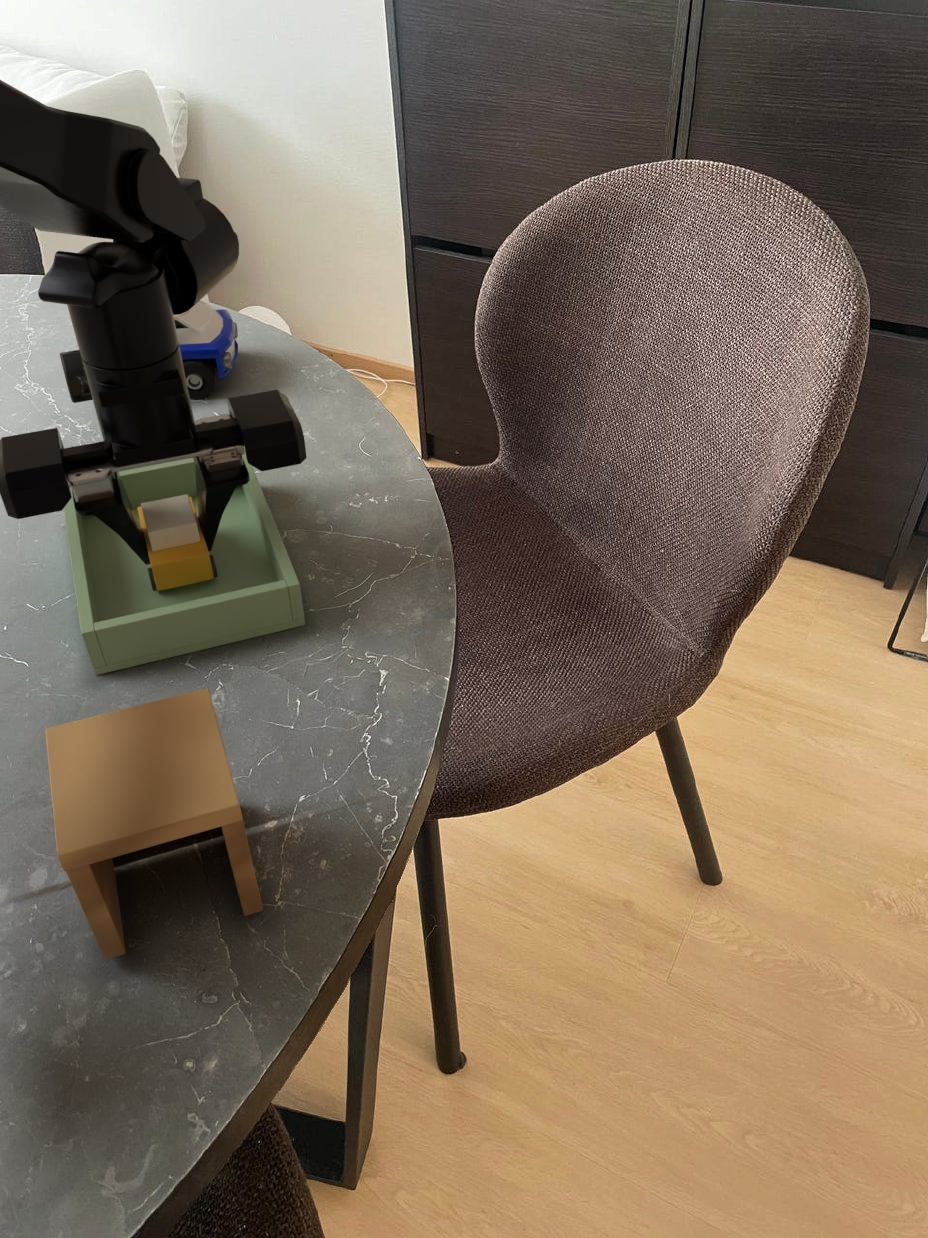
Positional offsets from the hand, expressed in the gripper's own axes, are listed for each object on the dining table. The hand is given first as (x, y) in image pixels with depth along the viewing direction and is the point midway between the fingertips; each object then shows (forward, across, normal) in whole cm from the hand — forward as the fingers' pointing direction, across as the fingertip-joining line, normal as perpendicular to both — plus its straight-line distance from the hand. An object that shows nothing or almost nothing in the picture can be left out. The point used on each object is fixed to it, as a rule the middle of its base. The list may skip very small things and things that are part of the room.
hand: (178, 554), depth 71 cm
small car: (+1, 0, 0) cm, 1 cm away
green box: (+1, 0, 0) cm, 1 cm away
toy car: (+2, -4, -29) cm, 29 cm away
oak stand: (+1, +4, +26) cm, 26 cm away
